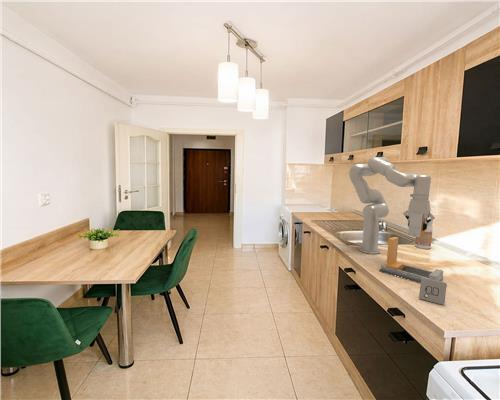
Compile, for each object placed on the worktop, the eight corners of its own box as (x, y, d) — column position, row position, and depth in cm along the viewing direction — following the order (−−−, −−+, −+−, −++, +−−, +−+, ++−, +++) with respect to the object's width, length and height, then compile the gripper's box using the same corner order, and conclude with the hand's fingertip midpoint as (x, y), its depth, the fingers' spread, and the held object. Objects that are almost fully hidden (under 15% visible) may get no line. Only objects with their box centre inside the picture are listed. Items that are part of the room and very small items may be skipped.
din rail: (379, 271, 154) (380, 262, 153) (390, 265, 163) (391, 256, 162) (434, 287, 134) (435, 277, 134) (443, 279, 144) (444, 270, 143)
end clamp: (385, 269, 154) (387, 239, 151) (392, 265, 160) (394, 236, 157) (396, 272, 149) (399, 241, 147) (403, 268, 155) (406, 238, 153)
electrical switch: (418, 299, 123) (420, 278, 122) (419, 295, 127) (422, 275, 126) (444, 306, 117) (446, 284, 117) (445, 302, 121) (447, 281, 121)
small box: (420, 237, 154) (423, 214, 152) (407, 235, 158) (410, 212, 156) (424, 235, 159) (427, 212, 157) (412, 232, 164) (414, 210, 162)
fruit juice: (422, 249, 193) (426, 209, 189) (411, 245, 202) (415, 207, 198) (433, 248, 195) (438, 208, 191) (422, 244, 204) (426, 206, 200)
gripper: (401, 196, 159) (398, 226, 162) (436, 200, 147) (432, 233, 149) (406, 195, 164) (403, 224, 167) (441, 198, 152) (436, 231, 154)
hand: (416, 228), depth 158 cm, fingers closed on small box, 6 cm apart
